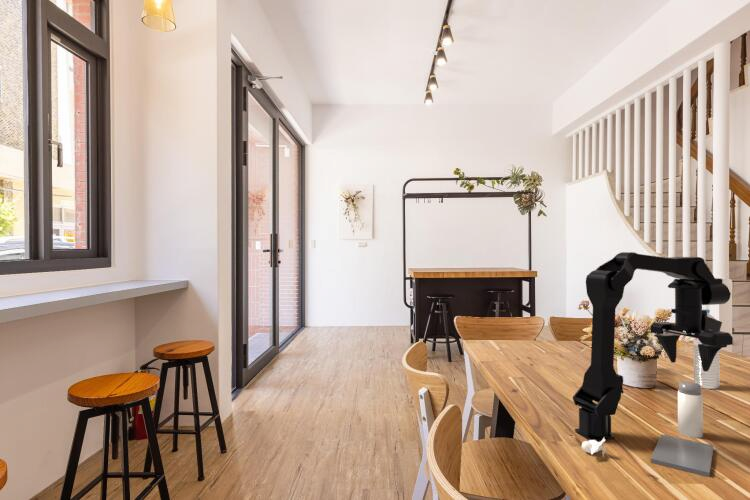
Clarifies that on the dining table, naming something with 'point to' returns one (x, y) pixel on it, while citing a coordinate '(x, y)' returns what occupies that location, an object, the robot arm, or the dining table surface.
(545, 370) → the dining table surface
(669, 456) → the slate board
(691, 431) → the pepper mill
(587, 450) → the toy bird
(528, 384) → the dining table surface
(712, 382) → the water bottle
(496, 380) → the dining table surface
